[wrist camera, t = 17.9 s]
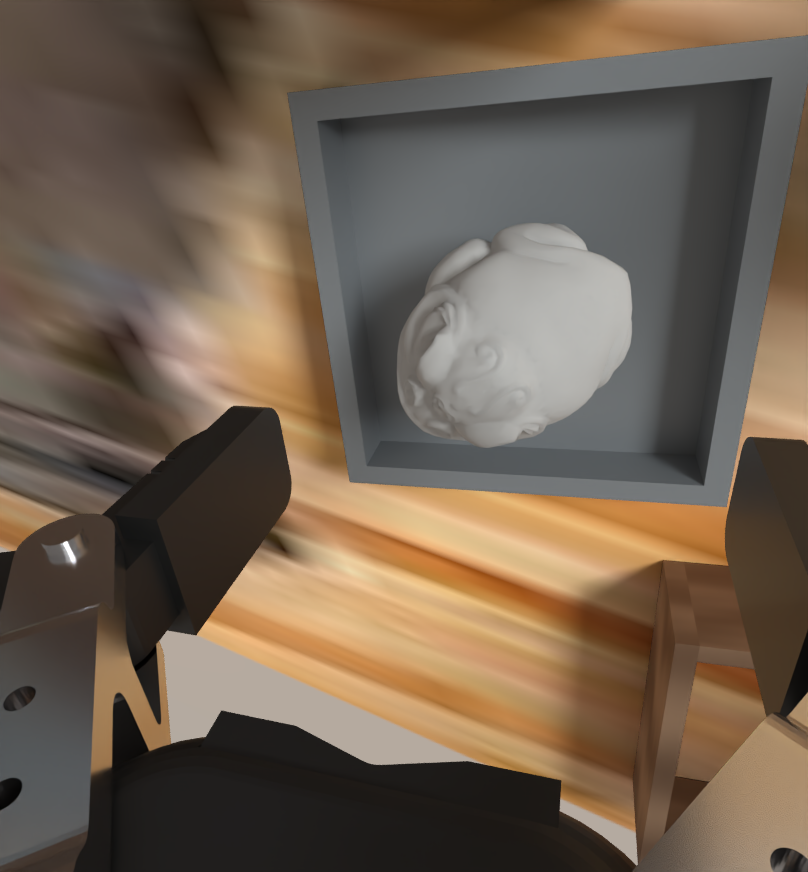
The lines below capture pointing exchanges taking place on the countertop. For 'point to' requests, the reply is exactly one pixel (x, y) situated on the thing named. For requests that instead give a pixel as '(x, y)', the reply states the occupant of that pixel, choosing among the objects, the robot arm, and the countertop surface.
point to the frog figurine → (512, 335)
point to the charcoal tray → (587, 217)
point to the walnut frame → (680, 685)
